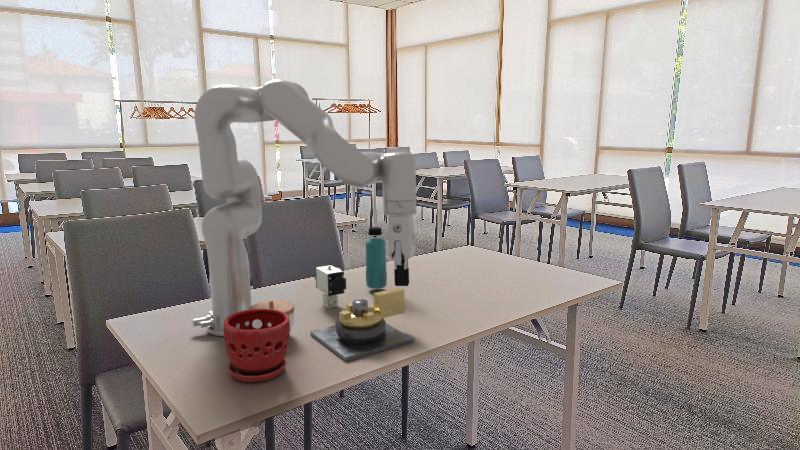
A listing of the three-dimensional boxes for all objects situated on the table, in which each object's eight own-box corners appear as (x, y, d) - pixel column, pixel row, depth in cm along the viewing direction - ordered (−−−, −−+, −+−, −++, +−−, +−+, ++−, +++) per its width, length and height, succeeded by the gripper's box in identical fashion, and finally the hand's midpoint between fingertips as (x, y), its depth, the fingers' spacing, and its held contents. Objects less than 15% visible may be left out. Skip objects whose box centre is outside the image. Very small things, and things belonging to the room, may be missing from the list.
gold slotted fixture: (352, 333, 118) (351, 307, 117) (332, 319, 126) (331, 296, 125) (413, 317, 127) (413, 293, 126) (390, 306, 135) (390, 283, 134)
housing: (345, 361, 113) (345, 344, 112) (309, 334, 128) (309, 319, 127) (412, 342, 123) (412, 326, 122) (372, 319, 138) (371, 304, 137)
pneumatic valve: (331, 314, 142) (330, 271, 140) (314, 302, 152) (313, 262, 150) (349, 310, 145) (348, 268, 143) (332, 298, 155) (330, 259, 152)
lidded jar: (304, 337, 126) (302, 300, 125) (264, 350, 119) (262, 311, 117) (280, 325, 134) (278, 290, 132) (242, 337, 127) (239, 300, 125)
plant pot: (239, 394, 99) (235, 335, 97) (218, 369, 110) (214, 315, 108) (302, 375, 107) (300, 320, 105) (276, 353, 117) (274, 302, 115)
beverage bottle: (390, 292, 161) (389, 228, 157) (369, 294, 158) (368, 230, 154) (382, 286, 167) (382, 224, 163) (363, 288, 164) (361, 226, 160)
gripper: (412, 212, 110) (414, 295, 114) (419, 202, 125) (421, 276, 128) (377, 212, 111) (380, 294, 115) (388, 202, 126) (390, 276, 129)
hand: (402, 284), depth 121 cm, fingers closed
